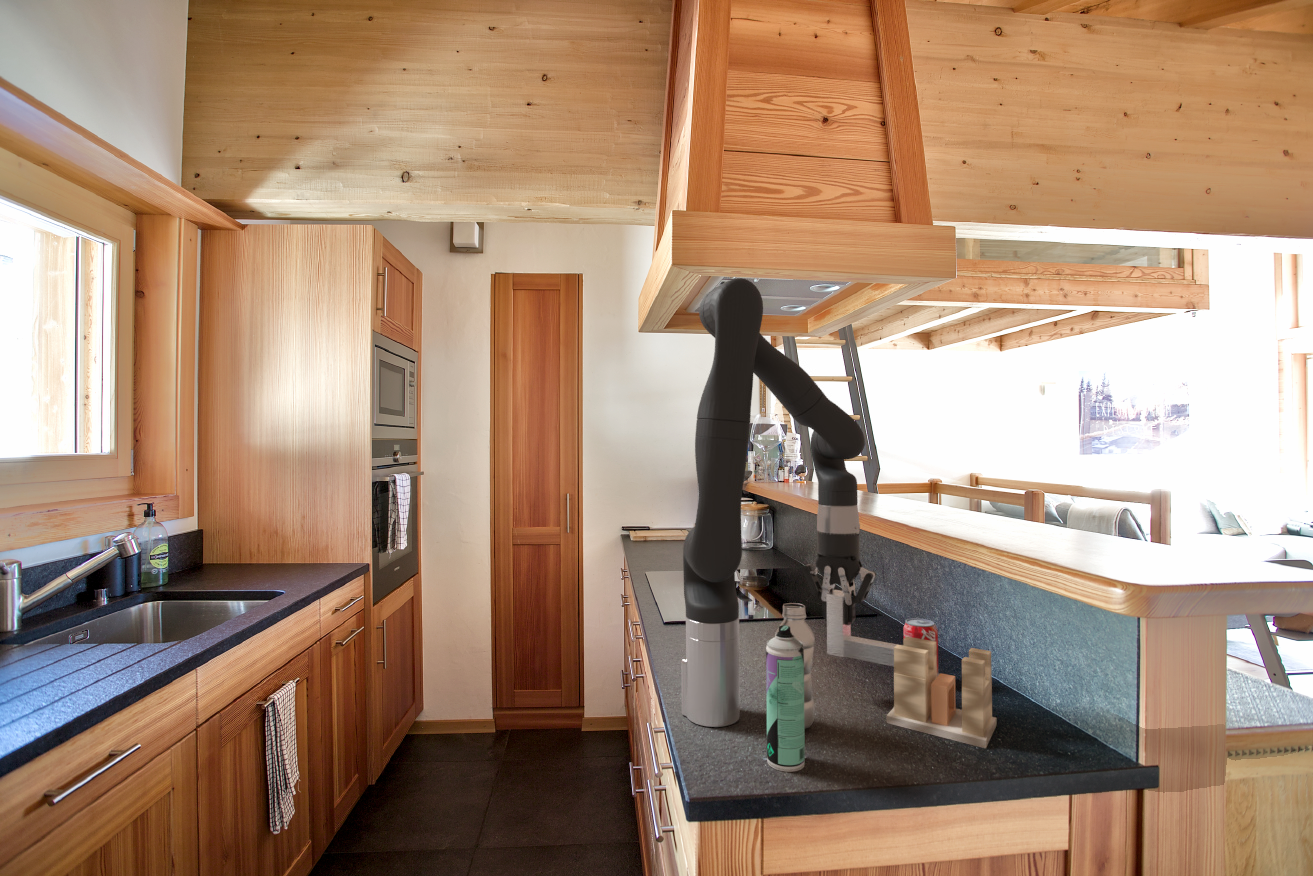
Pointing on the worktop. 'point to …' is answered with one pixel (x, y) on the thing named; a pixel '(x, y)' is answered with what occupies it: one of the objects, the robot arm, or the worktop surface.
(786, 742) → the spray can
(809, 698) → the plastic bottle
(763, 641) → the worktop surface
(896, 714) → the stand
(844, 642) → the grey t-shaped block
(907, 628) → the soda can
